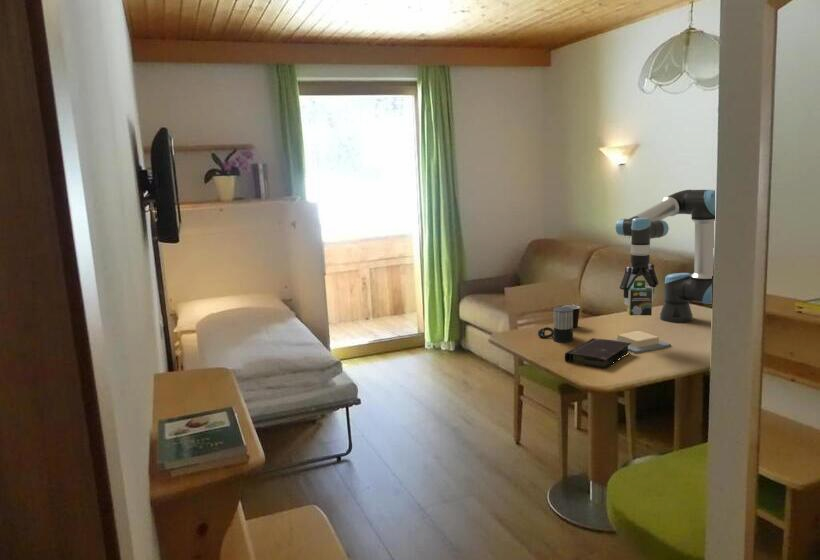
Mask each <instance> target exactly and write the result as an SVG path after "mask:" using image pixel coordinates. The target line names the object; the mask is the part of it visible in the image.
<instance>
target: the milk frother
mask: <svg viewBox="0 0 820 560" xmlns="http://www.w3.org/2000/svg"><path fill="white" fill-rule="evenodd" d="M552 310H553V328H551V327H548V326H547V327H543V328H541V329H539V330H538V331H537V336H539V337H540V338H543V339H546V338H547V339H549V338H551V337H553V338H552V340H553V341H554V342H556V343H563V344H564V343H571V342H573V341H574V328H573V310H574V309H573V308H571V307H562V306H556V307H553V309H552ZM546 331H549V332H550V334H546Z"/></svg>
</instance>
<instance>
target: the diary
mask: <svg viewBox="0 0 820 560" xmlns="http://www.w3.org/2000/svg"><path fill="white" fill-rule="evenodd" d="M630 344H631V343H627V342H621V341H614V340H613V339H605V338H595V337H593V338H590V339H588V341H586V342H583V343H581V344H579V345H577V346H575V347H574V348H572V349H570V350H568V351H565V353H564V362H566V363H567V362H569V361H570V363H572V362H573V363H575V364H580V365H583V366H586V367H591V368H596V369H601V370H606V369H609V368H610V367H612V366H614V365H615V364H616V362H617V363H618V362H620V361H622V358H621V357H622V356H624V355H626V354H627V353H629V355H631V354H630V353H631V352H629V351H628V345H630ZM619 358H621V359H620V361H619V360H618V359H619ZM613 362H614V363H613ZM613 364H614V365H613ZM611 365H612V366H611Z"/></svg>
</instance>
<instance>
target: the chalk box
mask: <svg viewBox="0 0 820 560" xmlns="http://www.w3.org/2000/svg"><path fill="white" fill-rule="evenodd" d="M639 283H640V285H638V284H639ZM648 286H649V285H648V284H647V285H646V280H645V279H643V280H641V279H639V280H636V279H635V281H634V282H633V285H632V286H631V287H630V289H629V290H630V291H631V296H630V306H628V305H625V306H626V308H625V310H626V312H627V313H628V315H629V316H652V313H653V312H652V311H653V310H652V309H653V308H652V307H653V305H652V304H653V302H652V289H651V288H650V287H648Z"/></svg>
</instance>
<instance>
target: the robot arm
mask: <svg viewBox="0 0 820 560" xmlns="http://www.w3.org/2000/svg"><path fill="white" fill-rule="evenodd" d="M715 190H716V189H685V190H680V191H678V192H675V193H672V194H670V195H667V196H666V197H663V199H662V200H661V201H660V202H659V203H657V204H655V205H653V206H652V207H649V208H647V209H645V210H644V211H642V212H639V213H637V214H635V215H634V216H632V217H630V218H629V217H628V218H620V219H618V220H617V222H616V223H615V232H616V234H617V235H619V236H624V237H631V242H630V254H631V255H630V263H631V266H630V267H629V266H626V267H625V269H624V270H625V272H624V274H623V277H622V280H621V282H620V286H619V289H620V290H623V298H624V299H623V300H624V304H623V305H625V306H626V305H628V306H630V296H631V291H630V290H629V289H630V287H631V286H633V285H634V281H635V280H636V279H637V278H638V277H641V276H643V278H644V280H645V282H646V283H647V286H648V287H650V288H651V289H652V303H654V294H655V288H657V286H658V285H659V281H658V277H657V275H656V271H655V264H652V263H650V252H651V251H650V250H651V248H650V246H651V239H660V238H662V237H665V236H667V234H668V233H669V230H670V227H669V224H668V223H667V221H665V220H664V219H666V218H668V217H674V216H676V215H691V217H690V218H691V220H692V222H693V223H694V271H693V273H690V272H677V273H676V272H675V273H670V274H667V275H665V279H664V299H663V300H664V301H663V305H662V308H661V311H660V313H659V319H660V320H662V321H665V322H671V323H688V322H689V323H690V322H692V321H694V320H693V319H694V315H693V313H692V308H691V305H690V303H691V302H695V303H700V304H701V303H702V304H707V305H713V304H712V276H713V248H714V221H715Z"/></svg>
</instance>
